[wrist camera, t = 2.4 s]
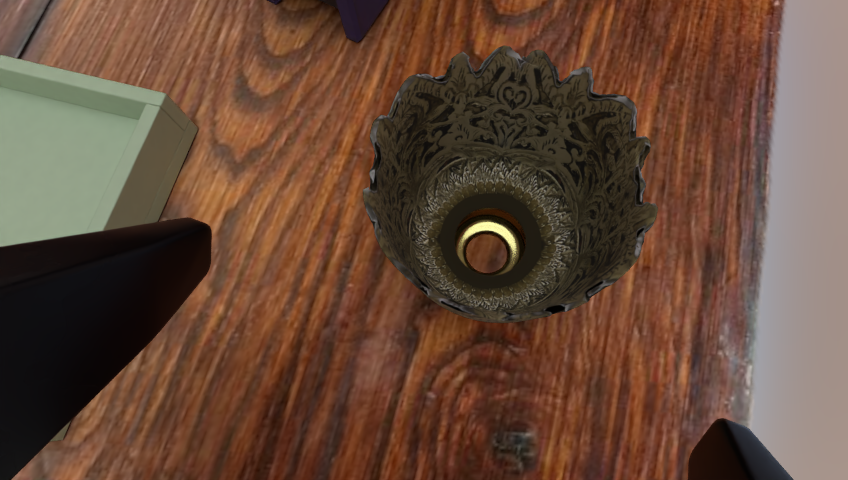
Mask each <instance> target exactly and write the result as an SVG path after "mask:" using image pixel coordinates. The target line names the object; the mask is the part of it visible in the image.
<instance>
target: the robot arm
mask: <svg viewBox="0 0 848 480" xmlns="http://www.w3.org/2000/svg"><path fill="white" fill-rule="evenodd" d="M211 239H212V232H211V228H210V226H209V225H208V224H206V223H203V222H200V221H198V220H195V219H192V218H188V217H187V218H180V219H173V220H167V221H161V222H154V223H148V224H141V225H135V226H129V227H122V228H116V229H110V230H103V231H97V232H90V233H84V234H78V235H71V236H65V237H58V238H52V239H46V240H39V241H33V242H26V243H20V244H14V245H7V246H1V247H0V480H11V479H12V478H13V477H14V476H15V475H16V474H17V473H18V472H19V471H20V470H21V469H22V468H23V467H24V466H25V465H26V464H27V463H28V462H29V461H30V460H31V459H32V458H33V457H34V456H35V455H36V454H38V453H39V452H40V451H41V450H42V449H43V448H44V447H45V446H46V445H47V444H48V443H49V442H50V441H51V440H52V439H53V438H54V437H55V436H56V435H57V434H58V433H59V432H60V431H61V430H62V429H63V428H64V427H65V426H66V425H67V424H68V423H69V422H70V421H71V420H72V419H73V418H74V417H75V416H76V415H77V414H78V413H79V412H80V411H81V410H82V409H83V408H84V407H85V406H86V405H87V404H88V403H89V402H90V401H91V400H92V399H93V398H94V397H95V396H96V395H97V394H98V393H99V392H100V391H101V390H102V389H103V388H104V387H105V386H106V385H107V384H108V383H109V382H110V381H111V380H112V379H113V378H114V377H115V376H116V375H117V374H118V373H119V372H120V371H121V370H122V369H123V368H124V367H125V366H126V365H127V364H129V363H130V362H131V361H132V360H133V359H134V358H135V357H136V356H137V355H138V354H139V353H140V352H141V351H142V350H143V349H144V348H145V347H146V346H147V345H148V344H149V343H150V341H151V340H152V339H153V338H154V337H155V336H156V335H157V334H158V333H159V332H160V331H161V329H162V328H163V327H164V326H165V325H166V323H167V322H168V321H169V320H170V319H171V317H172V316H173V315H174V314H175V312H176V311H177V310H178V309H179V308H180V306H181V305H182V304H183V303H184V301H185V300H186V299H187V298H188V297H189V295H190V294H191V293H192V292H193V290H194V289H195V288H196V287H197V286H198V284H199V283H200V282H201V281H202V279H203V278H204V277H205V276H206V274H207V272H208V270H209V268H210V264H211ZM688 480H793V479H792V477H791V476H790V475H789V474H788V473H787V472H786V470H784V468H783V467H782V466H781V465H780V464H779V462H778V461H777V460H776V459H775V458H774V457H773V456H772V455H771V453H770V452H769V451H768V450H767V449H766V448H765V446H764V445H763V444H762V443H761V442H760V441H759V440H758V438H757V437H756V436H755V435H754V434H753V433H752V431H751V430H750V429H748V428H747V427H745V426H743V425H740V424H738V423H735V422H732V421H730V420H727V419H724V418H721V419H717V420H716V421H715V422H714V423H713V424H712V425H711V426H710V428H709V429H708V430H707V432H706V433H705V434H704V436H703V437H702V438H701V440H700V441H699V442H698V444H697V445H696V446H695V448H694V449H693V451H692V453H691V455H690V458H689V464H688Z"/></svg>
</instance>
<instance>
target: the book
mask: <svg viewBox="0 0 848 480" xmlns="http://www.w3.org/2000/svg"><path fill="white" fill-rule="evenodd" d="M268 1H270V2H272V3H274V4H277V3H278V2H279V1H280V0H268ZM320 1H322V2H324V3H326V4H329V5H331V6H333V7H335V8H337V9H339V13H340V16H341V20H342V23H343V27H344V30H345V34H346V38H349V39H351V40H353V41H355V42H359V41H360V40H361V39H362V38H363V37H364V35H365V34H366V32H367V31H368V29H369V28H370V26H371V25H372V24H373V22H374V21H375V19H376V18H377V16H378V15H379V13H380V12H381V11H382V9H383V8H384V6H385V5H386V3H387V2H388V0H320Z"/></svg>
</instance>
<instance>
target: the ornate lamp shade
mask: <svg viewBox="0 0 848 480" xmlns="http://www.w3.org/2000/svg"><path fill="white" fill-rule="evenodd" d="M468 58H470V57H469V56H468V55H466V54H465V53H464V52H461V53H459V54H457V55H456V56H454V57H453V58H452V59H451V62H450V64H449V67H448V69H447V72H446V74H445V75H444V76H438V77H432V76H431V75H429V74H416V75H412V76H409V77H408V78H407V79H406V80H405V81H404V83H403V84H402V86H401V87H400V89H399V91H398V92H397V94H396V97H395V99H394V101H393V104H392V107H391V110H390V112H389V114H388V116H386V117H385V116H384V115H380V116H379V117H378V118H377V119H376V120H375V121H374V122H373V124H372V127H371V133H370V140H371V142H372V144H373V146H374V152H375V158H374V163H373V167H372V168H371V170H370V181H371V184H370V190H369V187H368V188H366V189H364V190H363V198H364V204H365V208H366V211H367V213H368V215H369V218H370V220H371V222H372V223H373V226H374V230H375V235H376V238H377V241H378V243H379V245H380V247H381V249H382V251H383V252H384V253H385V255H386V256H387V258H388V259H389V260H390V261H391V262H392V263H393V265H394V266H395V267H396V268H397V269H398V270H399V271H400V272H401V273H402V274H403V275H404V276H405V277H406V278H407V279H408V280H410V281H411V282H412V283H413V284H414V285H415V286H416V287H417V288H418V289H419V290H421V291H422V292H423V293H424V294H425V295H426V296H427V297H429V298H430V299H431V300H433V301H434V302H435V303H437V304H438V305H440V306H441V307H443V308H445V309H447V310H449V311H451V312H453V313H455V314H458V315H460V316H463V317H466V318H469V319H473V320H477V321H483V322H491V323H511V322H519V321H525V320H531V319H536V318H542V317H548V316H551V314H555V313H559V312H566V311H569V310H571V309H574V308H576V307H578V306H580V305H582V304H584V303H586V302H588V301H589V300H590V298H591V297H592V296H593V295H595V294H596V293H598V292H599V291H601V290H602V289H604V288H605V287H607V286H610V285H611V284H613V283H614V282H616V281H617V280H618V279H619V278H620V277H622V276H623V275H624V274H625V273H626V272H627V271H628V270H629V269H630V268H631V267H632V266H633V264H634V263H635V262H636V261H637V259H638V257H639V255H640V252H641V247H642V244H643V243H644V235H645V232H647V231H648V230H649V229H650V228H651V227H652V226H653V224H654V221H655V219H656V216H657V211H658V207H657V205H656V204H650V203H649V202H645V203H643V193H644V189H645V187H646V183H645V181H644V179H643V178H642V173H641V169H642V167H643V165H644V160H645V158H646V157H647V155H648V153H649V151H650V148H651V145H650V141H649V139H648V138H647V137H645V136H642V137H637V138H636V124H637V123H636V114H637V110H636V107H635V104H634V102H633V101H631V100H630V99H629V98H627V97H626V96H623V95H616V94H607V95H605V94H602V95H599V94H597V93H595V92H593V83H594V80H593V77H592V70H591V68H590V67H582V68H580V69H577V70H574V71H572V73H571V72H570V75H569V76H568V77H567V78H565V79H564V80H563V81H559V73H558V69H557V67H556V66H553V65H552V63H551V61H550V59H549V57H548V56H547V54H546V53H545V52H544V51H542V50H535V51H532V52H531V53H530V54H529V55H528V56H527V57H522V59H521V58H520V56H519V54H518V53H516V52H515V51H514V50H512V48H511V47H509V46H502V47H499V48H498V49H496V50H494V51H493V52H492V53H491V54H490V55H489V56H488V57H487V58H486V59H485V61H484V62H483V63H482V65H481V67H480V69H479V70H478V71H476V72H475V71H474V69H473V68H472V67H471V66H470V63H469V59H468ZM475 68H476V67H475ZM482 233H491V234H494V235H496V236H498V237H500V238H501V239H502V240H503V241H504V243H505V244H506V247H507V250H508V257H507V261H506V263H505V264H504V266H503V267H502V268H501V269H499V270H498V271H496V272H493V273H482V272H479V271H477V270H475V269H474V268H473V267H472V266H471V265H470V264H469V262H468V260H467V257H466V248H467V245H468V243H469V242H470V240H471V239H472V238H473V237H475V236H477V235H479V234H482Z"/></svg>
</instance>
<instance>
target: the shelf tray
mask: <svg viewBox="0 0 848 480" xmlns="http://www.w3.org/2000/svg"><path fill="white" fill-rule="evenodd" d="M197 130H198V128H197V127H196V126H195V124H194V123H193V122H192V121H191V120H190V119H189V118H188V117H187V116H186V115H185V114H184V112H183V111H182V110H181V109H180V108H179V107H178V106H177V105H176V104H175V103H174V102H173V101H172V99H171V98H170V97H169V96H168V95H167V94H166V93H162V92H158V91H153V90H149V89H145V88H141V87H136V86H132V85H128V84H123V83H119V82H115V81H111V80H106V79H102V78H98V77H93V76H89V75H85V74H81V73H76V72H72V71H68V70H64V69H59V68H55V67H51V66H46V65H42V64H38V63H34V62H29V61H25V60H21V59H16V58H12V57H8V56H4V55H0V247H1V246H7V245H14V244H20V243H26V242H33V241H39V240H46V239H52V238H58V237H65V236H71V235H78V234H84V233H90V232H97V231H103V230H110V229H116V228H122V227H129V226H135V225H141V224H148V223H154V222H158V220H159V217H160V215H161V213H162V210H163V208H164V206H165V204H166V201H167V199H168V197H169V194H170V192H171V190H172V187H173V185H174V183H175V181H176V178H177V176H178V174H179V171H180V169H181V167H182V164H183V162H184V160H185V158H186V155H187V153H188V151H189V148H190V146H191V144H192V141H193V139H194V137H195V135H196V132H197ZM70 422H71V421H70ZM70 422H69V423H68V424H67V425H66V426H65V427H64V428H63V429H62V430H61V431H60V432H59V433H58V434H57V435H56V436H55V437H54V438H53V439H52V440H51V441H57V440H63V438H64V436H65V433H66V431H67V429H68V427H69V424H70Z"/></svg>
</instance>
